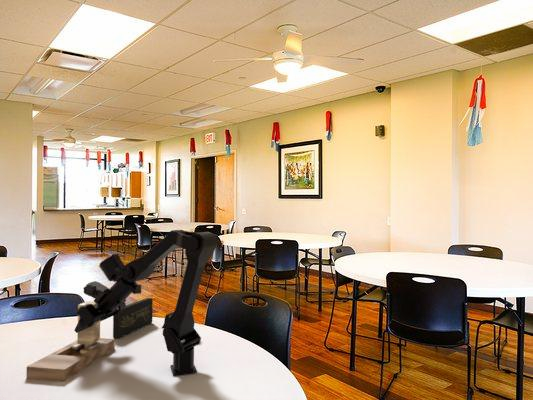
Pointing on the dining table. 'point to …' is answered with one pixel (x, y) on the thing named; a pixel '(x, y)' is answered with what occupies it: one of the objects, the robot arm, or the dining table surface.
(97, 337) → the peg
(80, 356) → the keyhole board
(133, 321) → the nameplate
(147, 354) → the dining table surface
